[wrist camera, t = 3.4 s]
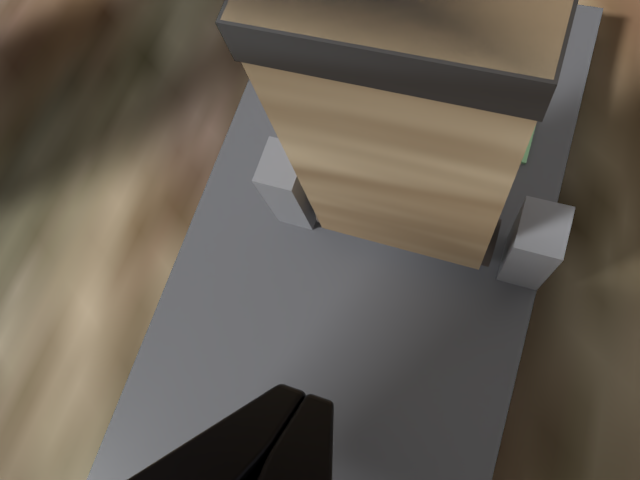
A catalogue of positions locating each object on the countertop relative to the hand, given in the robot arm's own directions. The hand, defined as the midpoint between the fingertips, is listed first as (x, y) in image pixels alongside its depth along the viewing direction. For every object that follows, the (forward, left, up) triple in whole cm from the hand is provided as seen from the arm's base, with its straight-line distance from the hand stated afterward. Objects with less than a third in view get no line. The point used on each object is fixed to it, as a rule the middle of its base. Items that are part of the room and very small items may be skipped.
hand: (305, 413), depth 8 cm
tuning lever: (0, +5, -5) cm, 7 cm away
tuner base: (-1, +3, -7) cm, 8 cm away
